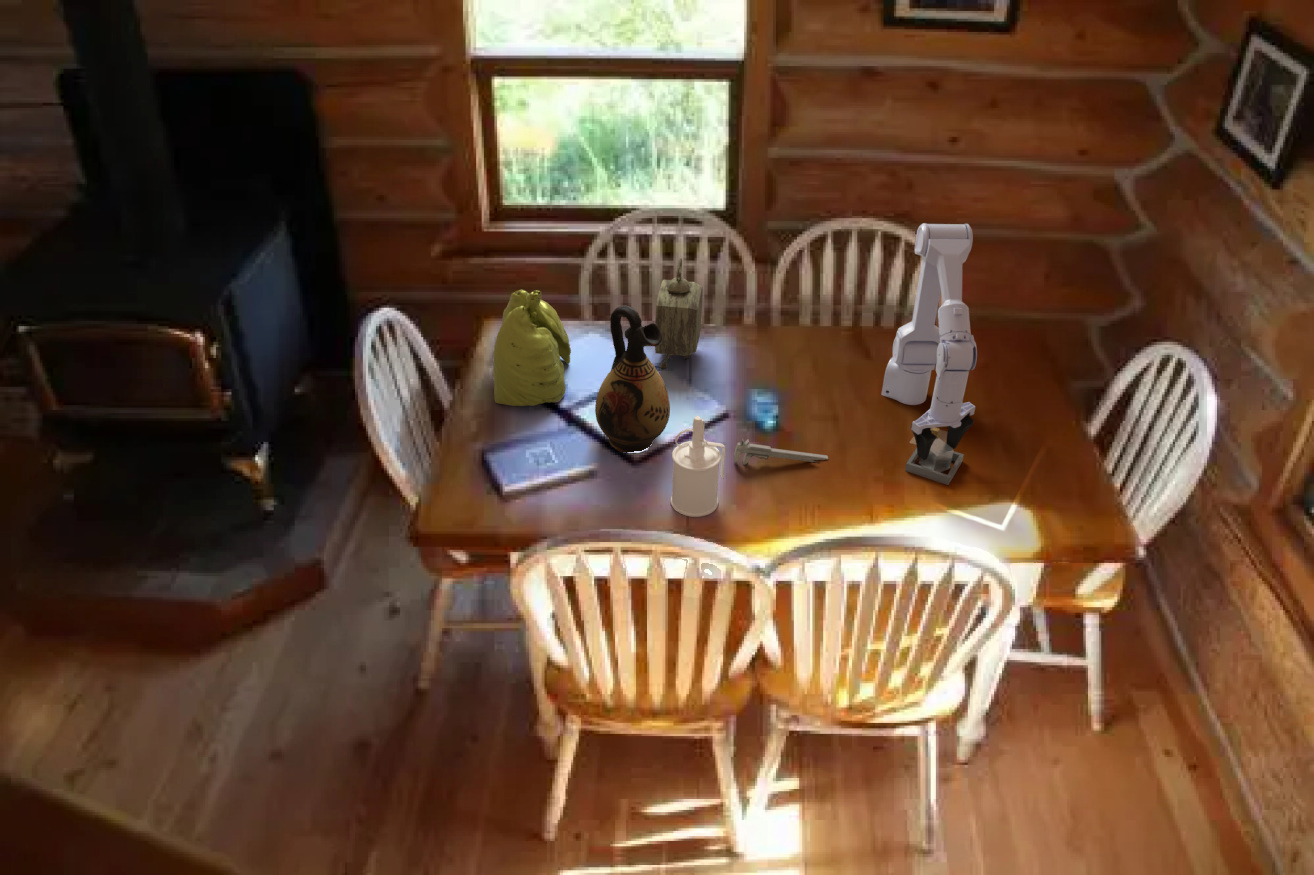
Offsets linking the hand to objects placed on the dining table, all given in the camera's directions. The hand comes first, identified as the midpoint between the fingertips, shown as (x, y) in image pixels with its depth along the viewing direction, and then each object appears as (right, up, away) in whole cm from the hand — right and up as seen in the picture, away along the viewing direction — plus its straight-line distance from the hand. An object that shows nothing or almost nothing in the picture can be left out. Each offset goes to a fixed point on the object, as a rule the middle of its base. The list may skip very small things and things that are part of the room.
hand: (936, 451), depth 222 cm
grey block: (0, -3, +2) cm, 4 cm away
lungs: (-84, +15, +26) cm, 89 cm away
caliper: (-30, -3, +4) cm, 31 cm away
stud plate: (+2, +2, +10) cm, 10 cm away
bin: (0, -4, +3) cm, 4 cm away
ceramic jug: (-62, +2, +10) cm, 63 cm away
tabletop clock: (-51, +21, +36) cm, 66 cm away
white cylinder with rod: (-48, -10, -7) cm, 50 cm away
